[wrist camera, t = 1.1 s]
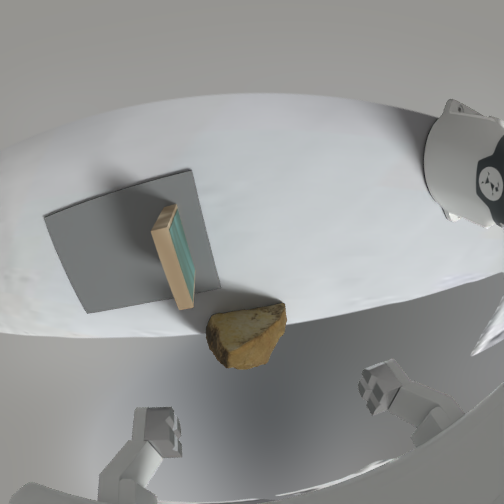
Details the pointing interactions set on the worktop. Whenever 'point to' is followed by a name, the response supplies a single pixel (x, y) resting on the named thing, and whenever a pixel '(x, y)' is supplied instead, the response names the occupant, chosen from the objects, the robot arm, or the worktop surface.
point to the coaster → (175, 256)
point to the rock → (246, 335)
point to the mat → (129, 244)
